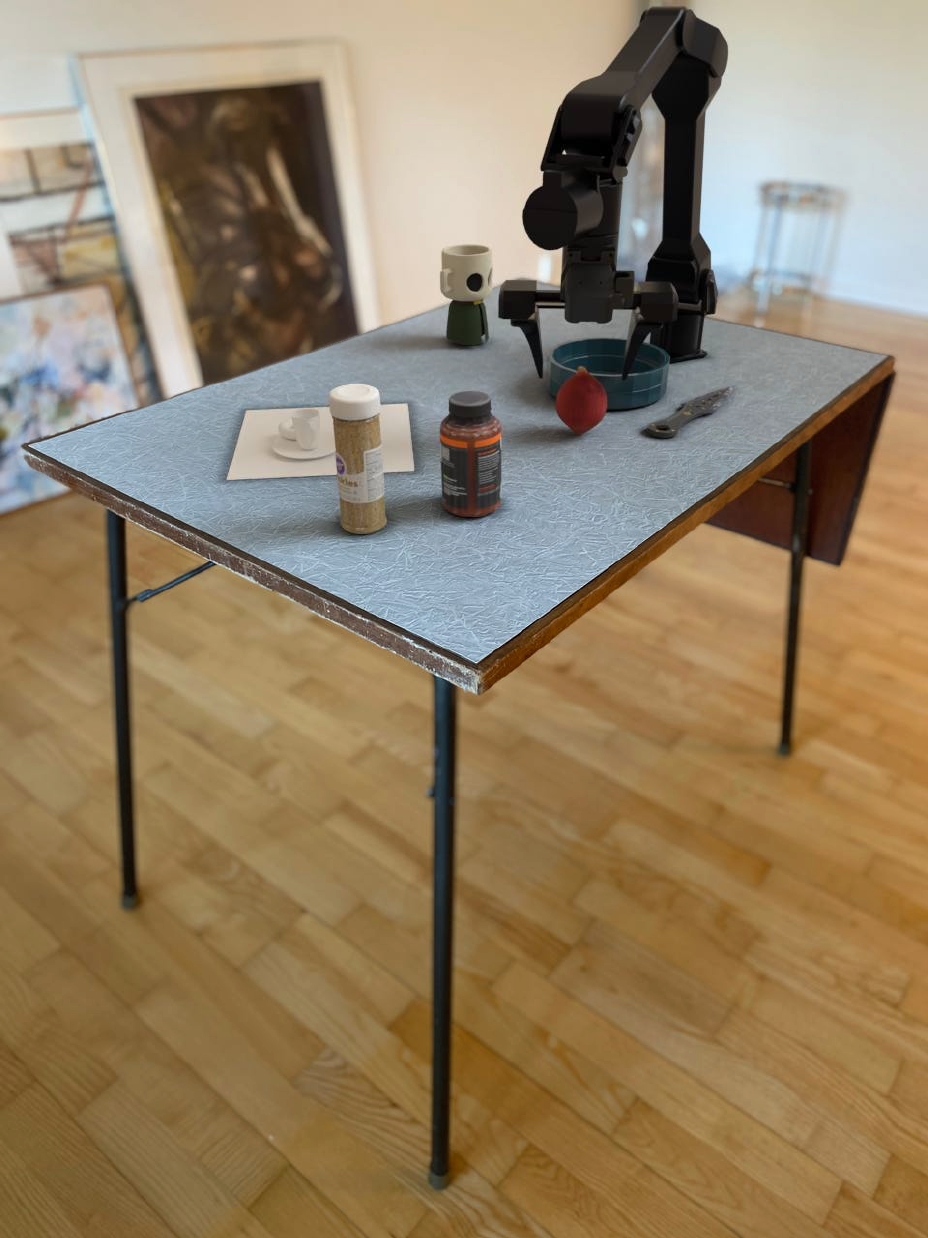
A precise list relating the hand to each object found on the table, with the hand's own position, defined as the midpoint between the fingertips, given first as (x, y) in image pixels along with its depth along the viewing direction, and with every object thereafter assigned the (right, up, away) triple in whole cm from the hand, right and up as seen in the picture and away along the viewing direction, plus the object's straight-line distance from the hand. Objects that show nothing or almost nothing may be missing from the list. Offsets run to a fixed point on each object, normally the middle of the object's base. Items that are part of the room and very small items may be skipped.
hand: (582, 378), depth 105 cm
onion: (0, -6, +4) cm, 7 cm away
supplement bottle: (-12, -16, -11) cm, 23 cm away
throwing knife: (+15, -2, +9) cm, 18 cm away
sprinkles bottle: (-23, -18, -14) cm, 32 cm away
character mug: (-13, +14, +33) cm, 38 cm away
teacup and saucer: (-29, -6, +4) cm, 30 cm away
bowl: (+5, +3, +16) cm, 17 cm away
